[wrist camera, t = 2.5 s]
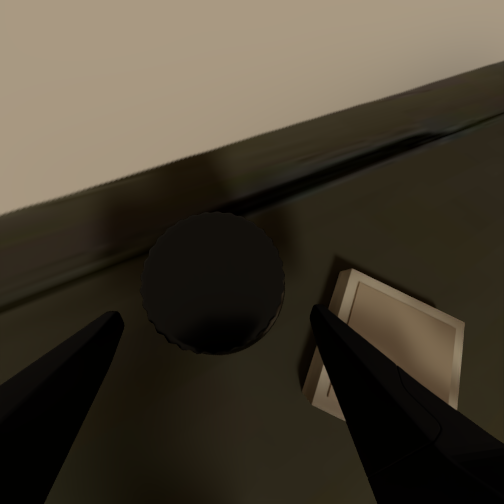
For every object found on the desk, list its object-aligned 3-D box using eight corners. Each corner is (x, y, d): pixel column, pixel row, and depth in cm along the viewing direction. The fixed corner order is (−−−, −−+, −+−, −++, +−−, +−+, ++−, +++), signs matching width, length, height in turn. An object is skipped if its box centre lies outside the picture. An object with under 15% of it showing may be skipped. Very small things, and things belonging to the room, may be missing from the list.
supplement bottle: (220, 243, 18) (204, 151, 7) (274, 282, 18) (351, 253, 7) (175, 299, 17) (48, 300, 5) (233, 344, 16) (241, 455, 5)
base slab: (424, 452, 16) (453, 475, 14) (301, 391, 16) (312, 405, 14) (441, 320, 19) (466, 322, 17) (340, 271, 19) (353, 268, 17)
